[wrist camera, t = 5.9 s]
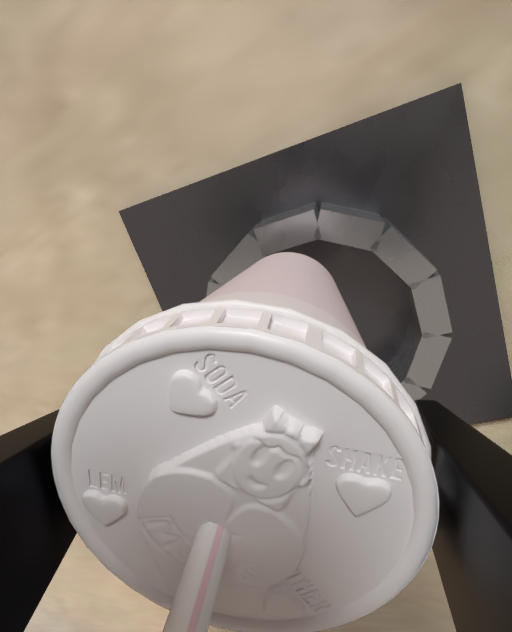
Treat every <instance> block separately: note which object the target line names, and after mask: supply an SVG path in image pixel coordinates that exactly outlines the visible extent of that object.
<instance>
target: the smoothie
mask: <svg viewBox="0 0 512 632" xmlns="http://www.w3.org/2000/svg"><path fill="white" fill-rule="evenodd" d="M51 459H52V470H53V476H54V481H55V484H56V488H57V492H58V496H59V498H60V500H61V503H62V505H63V508H64V510H65V512H66V514H67V516H68V518H69V521H70V523H71V524H72V525H73V527H74V528H75V530H76V531H77V533H78V534H79V536H80V537H81V539H82V540H83V542H84V543H85V545H86V546H87V548H88V549H89V550H90V551H91V552H92V553H93V554H94V555H95V556H96V557H97V558H98V559H99V560H100V562H101V563H102V564H103V565H104V566H105V567H106V568H107V569H108V570H109V571H110V572H112V573H113V574H114V575H115V576H117V577H118V578H119V579H120V580H122V581H123V582H124V583H125V584H127V585H128V586H129V587H130V588H132V589H133V590H135V591H136V592H138V593H140V594H141V595H143V596H145V597H146V598H148V599H149V600H151V601H153V602H154V603H156V604H158V605H160V606H162V607H164V608H166V609H168V610H170V612H169V615H168V618H167V621H166V623H165V626H164V629H163V632H207V630H208V626H209V625H211V626H214V627H217V628H223V629H228V630H233V631H239V632H317V631H321V630H325V629H329V628H334V627H338V626H342V625H345V624H347V623H349V622H352V621H354V620H356V619H359V618H361V617H363V616H366V615H368V614H370V613H372V612H374V611H375V610H376V609H378V608H379V607H381V606H383V605H384V604H386V603H387V602H389V601H390V600H391V599H393V598H394V597H396V596H397V595H398V594H399V593H400V592H401V591H402V590H403V589H404V588H405V587H406V586H407V585H408V584H409V583H410V582H411V581H412V579H413V578H414V577H415V576H416V575H417V573H418V572H419V570H420V569H421V567H422V565H423V564H424V562H425V561H426V559H427V556H428V554H429V552H430V550H431V548H432V545H433V542H434V539H435V535H436V532H437V526H438V520H439V494H438V485H437V481H436V477H435V473H434V468H433V465H432V462H431V445H430V442H429V439H428V436H427V434H426V431H425V428H424V425H423V422H422V420H421V417H420V414H419V411H418V408H417V405H416V403H415V402H414V400H413V399H412V398H411V396H410V395H409V394H408V393H407V391H406V390H405V389H404V387H403V386H402V385H401V383H400V382H399V381H398V379H397V378H396V377H395V375H394V374H393V373H392V371H391V370H390V369H389V367H388V366H387V365H386V363H385V362H383V361H382V360H381V359H379V358H378V357H377V356H375V355H374V354H373V353H372V352H370V351H369V350H368V349H367V348H366V346H365V344H364V342H363V340H362V338H361V336H360V334H359V332H358V330H357V327H356V325H355V323H354V321H353V319H352V317H351V315H350V313H349V311H348V309H347V306H346V304H345V302H344V300H343V298H342V296H341V294H340V292H339V290H338V288H337V286H336V283H335V281H334V279H333V278H332V276H331V275H330V273H329V272H328V271H327V269H326V268H325V267H324V266H323V265H321V264H320V263H319V262H317V261H316V260H314V259H312V258H311V257H308V256H306V255H303V254H299V253H293V252H282V253H275V254H272V255H269V256H267V257H264V258H263V259H261V260H259V261H258V262H256V263H255V264H253V265H252V266H250V267H249V268H248V269H246V270H245V271H243V272H242V273H240V274H239V275H237V276H236V277H235V278H233V279H232V280H230V281H229V282H227V283H226V284H224V285H223V286H222V287H220V288H219V289H217V290H216V291H214V292H213V293H211V294H210V295H208V296H207V297H206V298H204V299H203V300H201V301H200V302H198V303H187V304H182V305H179V306H176V307H174V308H171V309H168V310H166V311H163V312H161V313H158V314H155V315H153V316H150V317H147V318H145V319H142V320H139V321H138V322H136V323H135V324H134V325H133V326H131V327H130V328H129V329H128V330H126V331H125V332H124V333H122V334H121V335H120V336H119V337H117V338H116V339H115V340H113V341H112V342H111V343H110V344H108V345H107V346H106V347H105V348H104V349H103V351H102V352H101V354H100V355H99V357H98V358H97V360H96V361H95V363H94V364H93V365H92V366H91V367H89V368H88V369H87V370H86V371H85V372H84V373H83V375H82V376H81V377H80V378H79V379H78V380H77V381H76V382H75V384H74V385H73V387H72V388H71V390H70V391H69V393H68V394H67V396H66V398H65V400H64V402H63V404H62V406H61V408H60V410H59V413H58V416H57V419H56V422H55V426H54V430H53V435H52V446H51Z"/></svg>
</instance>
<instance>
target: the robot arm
mask: <svg viewBox="0 0 512 632" xmlns="http://www.w3.org/2000/svg"><path fill="white" fill-rule="evenodd" d="M414 402H415V403H416V405H417V408H418V411H419V414H420V417H421V420H422V422H423V425H424V428H425V431H426V434H427V436H428V439H429V442H430V445H431V462H432V465H433V468H434V473H435V477H436V481H437V485H438V494H439V520H438V526H437V532H436V535H435V539H434V542H433V545H432V549H433V552H434V556H435V559H436V563H437V566H438V570H439V573H440V576H441V580H442V583H443V587H444V590H445V594H446V597H447V600H448V604H449V607H450V611H451V614H452V618H453V621H454V625H455V628H456V631H457V632H512V455H511V454H509V453H508V452H507V451H505V450H504V449H502V448H501V447H500V446H498V445H497V444H496V443H494V442H493V441H491V440H490V439H489V438H487V437H486V436H485V435H483V434H482V433H480V432H479V431H478V430H476V429H475V428H474V427H472V426H471V425H469V424H468V423H467V422H465V421H464V420H463V419H461V418H460V417H458V416H457V415H456V414H454V413H453V412H452V411H450V410H449V409H447V408H446V407H445V406H443V405H442V404H441V403H439V402H438V401H436V400H420V399H418V400H415V401H414ZM59 410H60V409H59ZM59 410H56V411H54V412H52V413H50V414H48V415H45V416H43V417H41V418H39V419H36V420H34V421H32V422H30V423H28V424H25V425H23V426H21V427H19V428H17V429H14V430H12V431H10V432H8V433H6V434H3V435H1V436H0V632H24V630H25V628H26V626H27V624H28V623H29V621H30V619H31V617H32V615H33V613H34V611H35V610H36V608H37V606H38V604H39V602H40V600H41V598H42V597H43V595H44V593H45V591H46V589H47V587H48V585H49V584H50V582H51V580H52V578H53V576H54V574H55V572H56V571H57V569H58V567H59V565H60V563H61V561H62V559H63V558H64V556H65V554H66V552H67V550H68V548H69V546H70V545H71V543H72V541H73V539H74V537H75V535H76V533H77V531H76V530H75V528H74V527H73V525H72V524H71V523H70V521H69V518H68V516H67V514H66V512H65V510H64V508H63V505H62V503H61V500H60V498H59V496H58V492H57V488H56V484H55V481H54V476H53V470H52V459H51V446H52V435H53V430H54V426H55V422H56V419H57V416H58V413H59Z"/></svg>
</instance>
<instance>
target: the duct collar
mask: <svg viewBox="0 0 512 632" xmlns="http://www.w3.org/2000/svg"><path fill="white" fill-rule="evenodd" d="M119 213H120V215H121V218H122V220H123V222H124V224H125V227H126V229H127V231H128V233H129V236H130V238H131V240H132V243H133V245H134V247H135V249H136V252H137V254H138V256H139V258H140V261H141V263H142V265H143V268H144V270H145V272H146V274H147V277H148V279H149V281H150V283H151V286H152V288H153V290H154V292H155V295H156V297H157V299H158V302H159V304H160V306H161V308H162V311H166V310H168V309H171V308H174V307H176V306H179V305H182V304H187V303H198V302H200V301H201V300H203V299H204V298H206V297H207V296H208V295H210V294H211V293H213V292H214V291H216V290H217V289H219V288H220V287H222V286H223V285H224V284H226V283H227V282H229V281H230V280H232V279H233V278H235V277H236V276H237V275H239V274H240V273H242V272H243V271H245V270H246V269H248V268H249V267H250V266H252V265H253V264H255V263H256V262H258V261H259V260H261V259H263V258H264V257H267V256H269V255H272V254H275V253H282V252H293V253H299V254H303V255H306V256H308V257H311V258H312V259H314V260H316V261H317V262H319V263H320V264H321V265H323V266H324V267H325V268H326V269H327V271H328V272H329V273H330V275H331V276H332V278H333V279H334V281H335V283H336V286H337V288H338V290H339V292H340V294H341V296H342V298H343V300H344V302H345V304H346V306H347V309H348V311H349V313H350V315H351V317H352V319H353V321H354V323H355V325H356V327H357V330H358V332H359V334H360V336H361V338H362V340H363V342H364V344H365V346H366V348H367V349H368V350H369V351H370V352H372V353H373V354H374V355H375V356H377V357H378V358H379V359H381V360H382V361H383V362H385V363H386V365H387V366H388V367H389V369H390V370H391V371H392V373H393V374H394V375H395V377H396V378H397V379H398V381H399V382H400V383H401V385H402V386H403V387H404V389H405V390H406V391H407V393H408V394H409V395H410V396H411V398H412V399H413V400H414V401H415V400H418V399H420V400H436V401H438V402H439V403H441V404H442V405H443V406H445V407H446V408H447V409H449V410H450V411H452V412H453V413H454V414H456V415H457V416H458V417H460V418H461V419H463V420H464V421H465V422H467V423H468V424H474V423H480V422H485V421H491V420H497V419H503V418H509V417H512V379H511V373H510V367H509V361H508V355H507V350H506V344H505V338H504V332H503V326H502V320H501V314H500V308H499V303H498V297H497V291H496V285H495V279H494V273H493V267H492V262H491V256H490V250H489V244H488V238H487V232H486V226H485V220H484V215H483V209H482V203H481V197H480V191H479V185H478V179H477V174H476V168H475V162H474V156H473V150H472V144H471V138H470V132H469V127H468V121H467V115H466V109H465V103H464V97H463V91H462V86H461V83H459V84H456V85H454V86H451V87H448V88H446V89H443V90H441V91H438V92H435V93H433V94H430V95H427V96H425V97H422V98H419V99H417V100H414V101H411V102H409V103H406V104H403V105H401V106H398V107H395V108H393V109H390V110H387V111H385V112H382V113H379V114H377V115H374V116H371V117H369V118H366V119H363V120H361V121H358V122H355V123H353V124H350V125H347V126H345V127H342V128H339V129H337V130H334V131H331V132H329V133H326V134H323V135H321V136H318V137H315V138H313V139H310V140H307V141H305V142H302V143H299V144H297V145H294V146H291V147H289V148H286V149H283V150H281V151H278V152H275V153H273V154H270V155H267V156H265V157H262V158H260V159H257V160H254V161H252V162H249V163H246V164H244V165H241V166H238V167H236V168H233V169H230V170H228V171H225V172H222V173H220V174H217V175H214V176H212V177H209V178H206V179H204V180H201V181H198V182H196V183H193V184H190V185H188V186H185V187H182V188H180V189H177V190H174V191H172V192H169V193H166V194H164V195H161V196H158V197H156V198H153V199H150V200H148V201H145V202H142V203H140V204H137V205H134V206H132V207H129V208H126V209H124V210H121V211H119Z"/></svg>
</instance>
